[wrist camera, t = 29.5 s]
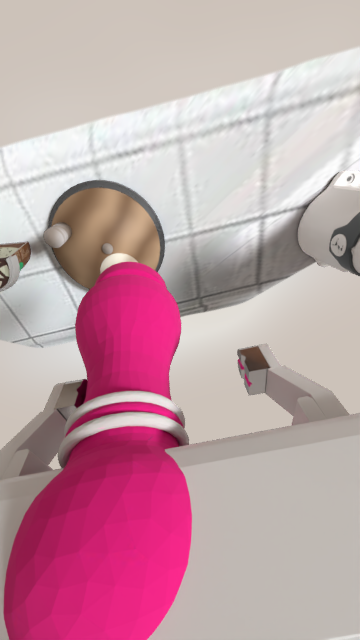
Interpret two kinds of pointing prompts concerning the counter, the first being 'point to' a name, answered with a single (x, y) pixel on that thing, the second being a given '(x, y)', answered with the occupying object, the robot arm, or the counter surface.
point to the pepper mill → (110, 481)
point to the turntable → (101, 234)
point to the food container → (12, 262)
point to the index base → (124, 190)
